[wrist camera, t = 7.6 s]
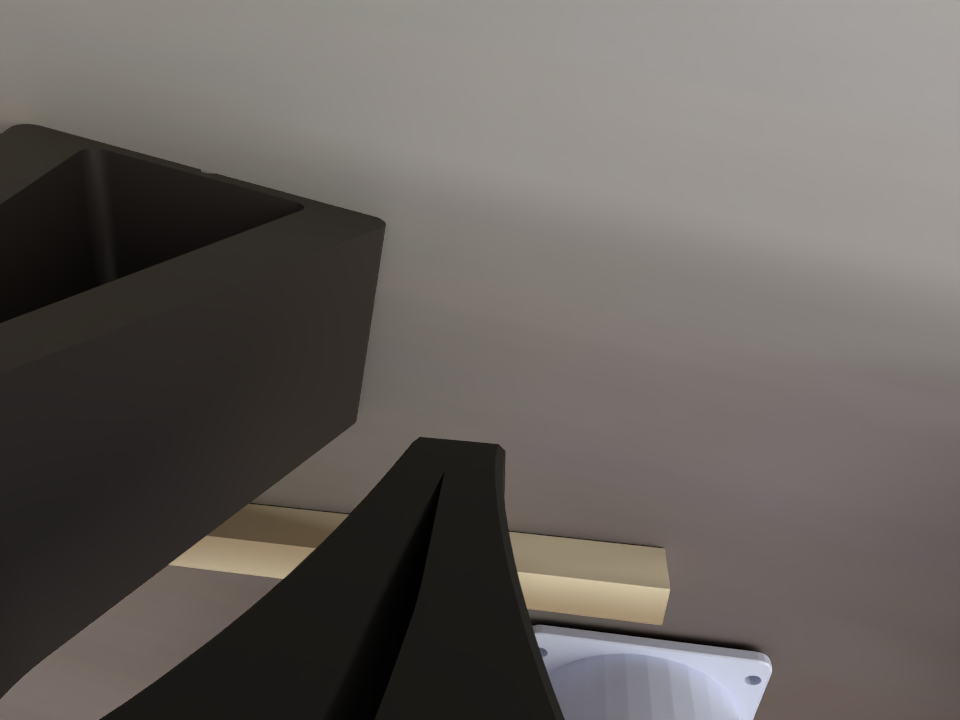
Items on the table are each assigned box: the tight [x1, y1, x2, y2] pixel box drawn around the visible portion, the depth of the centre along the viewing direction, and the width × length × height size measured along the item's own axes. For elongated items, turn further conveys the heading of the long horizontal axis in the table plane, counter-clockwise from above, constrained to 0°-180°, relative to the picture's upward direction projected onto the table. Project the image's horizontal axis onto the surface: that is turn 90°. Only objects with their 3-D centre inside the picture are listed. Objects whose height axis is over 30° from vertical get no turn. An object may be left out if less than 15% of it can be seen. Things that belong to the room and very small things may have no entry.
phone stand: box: [0, 124, 386, 699], centre depth 11 cm, size 9×6×12 cm, turn 77°
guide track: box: [168, 504, 670, 625], centre depth 14 cm, size 19×22×4 cm
